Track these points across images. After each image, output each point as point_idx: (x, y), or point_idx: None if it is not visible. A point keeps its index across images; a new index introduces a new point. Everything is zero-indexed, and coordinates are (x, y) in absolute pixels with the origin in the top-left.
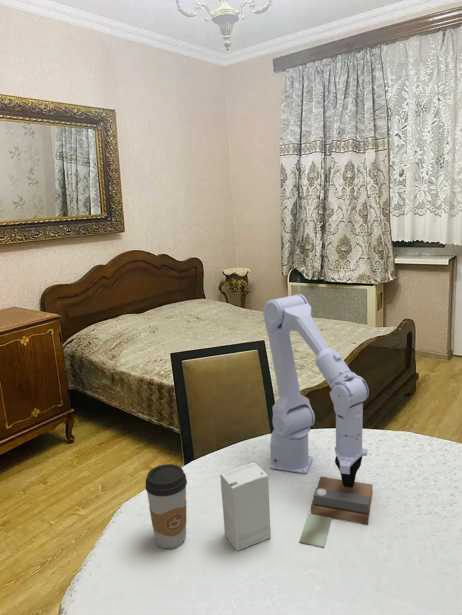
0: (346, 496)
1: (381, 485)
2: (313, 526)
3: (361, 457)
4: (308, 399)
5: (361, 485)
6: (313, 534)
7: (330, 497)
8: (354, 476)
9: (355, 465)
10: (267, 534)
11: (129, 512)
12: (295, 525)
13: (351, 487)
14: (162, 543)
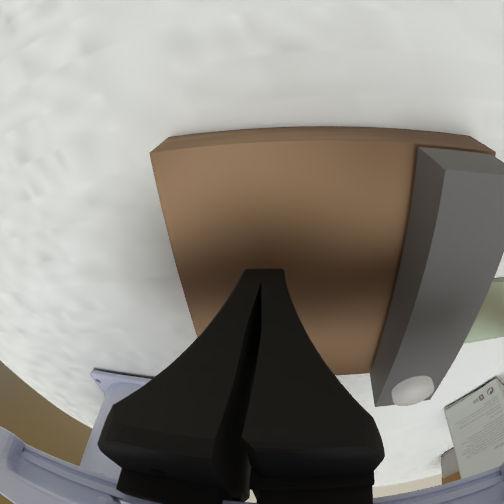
0: (447, 303)
1: (87, 108)
2: (481, 321)
3: (181, 457)
4: None
5: (192, 213)
6: None
7: (449, 357)
8: (308, 336)
9: (378, 462)
10: (502, 389)
11: (400, 481)
12: (463, 355)
13: (284, 275)
14: None
